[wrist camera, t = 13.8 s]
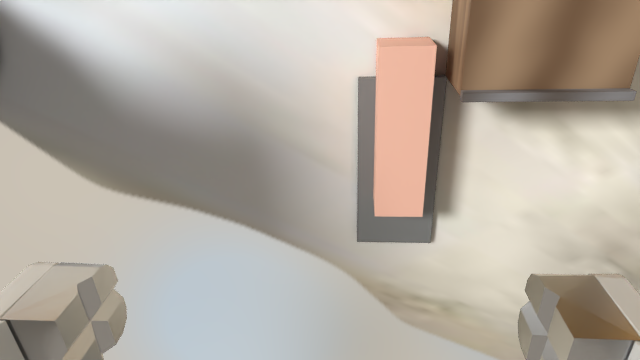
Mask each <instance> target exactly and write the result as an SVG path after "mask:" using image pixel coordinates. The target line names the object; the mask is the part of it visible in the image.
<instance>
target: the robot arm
mask: <svg viewBox="0 0 640 360" xmlns="http://www.w3.org/2000/svg"><path fill="white" fill-rule="evenodd" d="M117 282H118V279H117V277H116V274H115V271H114V268H113V267H111V266H109V265H106V264H105V265H104V264H83V263H54V262H37V263H33V264H30V265H28V267H26V268H25V269H24V270H23V271H22V272H21V273H20V274H19V275H18V276H17V277H16V278H14V279H13V280H12V281H11V282H10V283H9V284H8V285H7V286H6V287H5V288H4V289H3V290H2V291H1V292H0V360H104V358H103V353H104V352H106V351H107V350H109V349H110V348H112V347H113V346H115V345H116V344H117V342H118V340H119V338H120V337H121V335H122V334H123V331H124V327H125V323H126V319H127V314H126V313H127V312H126V304H125V301H124V298H123V297H122V296H121V295H120V294H119V293H118V292H116V291H115V290H114V287H115V285H116V283H117ZM525 292H526V294H527V296H528V298H529V300H530V301H529V302H528V303H527V304H526V305H525V306H523V307H522V308H521V309H520V314H519V320H518V334H519V341H520V345H521V349H522V351H523V354H524V356H525V359H526V360H640V294H639V293H638V292H637V291H636V290H635V288H634V287H633V286H632V285H631V284H630V283H629V281H628V280H627V279H626V278H625V277H623V276H621V275H619V274H588V275H573V274H531V275H530V277H529V278H528V280H527V284H526V288H525Z"/></svg>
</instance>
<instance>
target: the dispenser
mask: <svg viewBox="0 0 640 360" xmlns="http://www.w3.org/2000/svg"><path fill="white" fill-rule="evenodd" d="M639 56H640V0H453V4H452V14H451V24H450V34H449V44H448V55H447V65H446V75H445V76H446V77H447V78H448V80H449V81H450V83H451V84H452V85H453V87H454V88H455V89H456V91H457V92H458V94H459V95H460V100H461V101H462V102H535V101H634V99H635V95H636V92H637V91H634V90H632V89H630V86H631V83H632V79H633V76H634V72H635V69H636V66H637V62H638V59H639Z"/></svg>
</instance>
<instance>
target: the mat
mask: <svg viewBox="0 0 640 360" xmlns="http://www.w3.org/2000/svg"><path fill="white" fill-rule="evenodd" d="M446 80H447V77H446V76H434V86H433V98H432V110H431V122H430V134H429V146H428V158H427V170H426V182H425V193H424V205H423V217H383V216H375V214H374V199H373V188H374V143H375V99H376V77H358V213H357V242H409V243H430V240H431V230H432V220H433V210H434V200H435V190H436V180H437V170H438V160H439V150H440V140H441V130H442V120H443V110H444V100H445V90H446Z"/></svg>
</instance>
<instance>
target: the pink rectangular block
mask: <svg viewBox="0 0 640 360" xmlns="http://www.w3.org/2000/svg"><path fill="white" fill-rule="evenodd" d="M436 50H437V45H436V44H435V43H434V42H433V41H432V39H431V38H430V37H412V38H377V54H376V99H375V143H374V188H373V199H374V214H375V216H383V217H423V205H424V193H425V182H426V170H427V158H428V146H429V134H430V122H431V110H432V98H433V86H434V74H435V62H436Z"/></svg>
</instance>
